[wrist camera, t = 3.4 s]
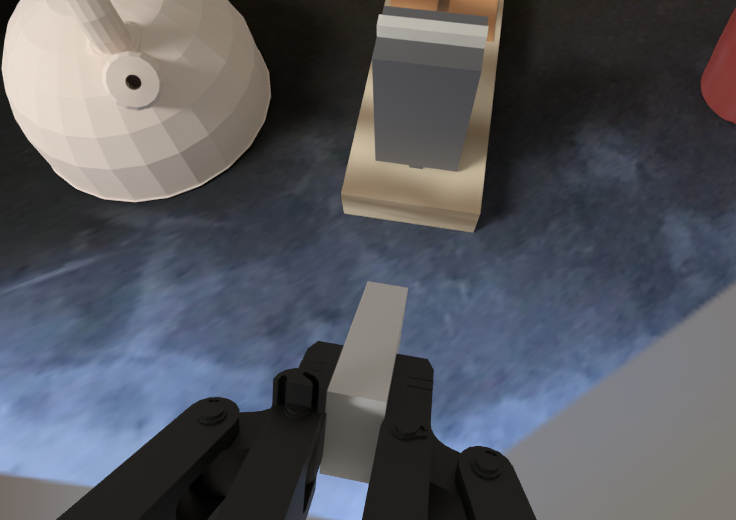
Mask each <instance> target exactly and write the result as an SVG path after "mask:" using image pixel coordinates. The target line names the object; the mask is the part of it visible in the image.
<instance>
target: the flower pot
mask: <svg viewBox="0 0 736 520" xmlns="http://www.w3.org/2000/svg"><path fill="white" fill-rule="evenodd" d="M701 92H702V95H703V97H704V99H705V101H706V103H707V104H708V105H709V107H710V108H711V109H712V110H713V111H714V112H715V113H716V114H717V115H718V116H720V117H721V118H723V119H724V120H727V121H730V122H733V123H734V124H735V125H736V7H735V9H734V11H733V13H732V15H731V17H730V19H729V21H728V23H727V25H726V27H725V29H724V31H723V33H722V35H721V37H720V39H719V41H718V43H717V45H716V47H715V49H714V51H713V53H712V56H711V58H710V60H709V62H708V64H707V66H706V68H705V70H704V72H703V75H702V78H701Z"/></svg>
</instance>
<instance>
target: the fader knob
mask: <svg viewBox="0 0 736 520" xmlns="http://www.w3.org/2000/svg"><path fill="white" fill-rule="evenodd" d="M487 24H488V17H487V16H477V15H468V14H458V13H449V12H440V11H430V10H421V9H411V8H402V7H392V6H384V8H383V13H382V15H380V14H379V17H378V22H377V39H376V43H375V47H374V52H373V56H372V75H373V104H374V133H375V161H382V162H389V163H397V164H404V165H411V166H419V167H426V168H433V169H441V170H448V171H455V172H457V170H458V166H459V162H460V158H461V154H462V150H463V146H464V142H465V138H466V133H467V129H468V125H469V121H470V117H471V113H472V109H473V105H474V101H475V96H476V92H477V88H478V84H479V80H480V76H481V72H482V64H483V56H484V48H485V44H486V40H487V34H488V26H487Z"/></svg>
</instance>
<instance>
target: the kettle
mask: <svg viewBox="0 0 736 520" xmlns="http://www.w3.org/2000/svg"><path fill="white" fill-rule="evenodd" d="M2 74H3V79H4V85H5V91H6V94H7V97H8V99H9V102H10V105H11V108H12V111H13V114H14V117H15V119H16V121H17V122H18V124H19V126H20V127H21V129H22V130H23V132H24V134H25V135H26V137H27V139H28V140H29V141H30V142H31V143H32V145H33V146H34V147H35V148H36V149H37V150H38V151H39V152H40V154H41V155H42V156H43V157H44V158H45V159H46V160H47V161H48V163H49V164H50V165H51V166H52V168H53V170H54V171H55V172H56V173H57V174H58V175H59V176H61V177H62V178H63V179H64V180H66V181H67V182H68V183H70V184H71V185H72V186H73V187H75V188H76V189H78V190H81V191H83V192H86V193H89V194H91V195H94V196H97V197H99V198H102V199H108V200H118V201H128V202H140V201H148V200H155V199H162V198H169V197H172V196H174V195H177V194H180V193H183V192H185V191H188V190H191V189H193V188H196V187H199V186H201V185H203V184H204V183H206V182H207V181H209V180H211V179H212V178H214V177H215V176H217V175H218V174H220V173H222V172H223V171H225V170H226V169H228V168H229V167H230V166H231V165H232V164H233V163H234V162H235V161H236V160H237V159H238V158H239V157H240V156H241V155H242V154H243V153H244V152H245V151H246V150H247V149H248V148H249V147H250V146H251V144H252V142H253V141H254V139H255V137H256V135H257V134H258V132H259V130H260V129H261V127H262V125H263V123H264V122H265V118H266V114H267V110H268V106H269V102H270V98H271V90H270V78H269V71H268V69H267V67H266V64H265V62H264V60H263V58H262V55H261V53H260V51H259V50H258V49H257V47H256V44H255V42H254V40H253V37H252V35H251V33H250V31H249V28H248V26H247V24H246V22H245V19H244V17H243V16H242V15H241V14H240V13H239V12H238V11H237V10H236V9H235V8H234V7H233V5H232V4H231V3H230V2H229V1H228V0H20V1H19V3H18V5H17V6H16V8H15V10H14V12H13V14H12V16H11V18H10V20H9V22H8V25H7V31H6V36H5V42H4V51H3V61H2Z"/></svg>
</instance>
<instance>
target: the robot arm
mask: <svg viewBox="0 0 736 520" xmlns="http://www.w3.org/2000/svg"><path fill="white" fill-rule="evenodd" d="M407 292H408V288H405V287H399V286H393V285H387V284H381V283H375V282H369V281H368V282H367V285H366V287H365V290H364V293H363V295H362V298H361V301H360V304H359V306H358V309H357V312H356V314H355V317H354V320H353V322H352V325H351V328H350V331H349V333H348V336H347V339H346V341H345V344H344V345H338V344H333V343H327V342H321V341H318V342H316V343H315V344H313V345H312V346H311V347H309V348H308V349H307V351H306V353H305V355H304V357H303V360H302V361H301V363H300V365H299V368H294V369H288V370H285V371H283V372H281V373H279V374H278V375H277V376H276V377H275V378H274V379H273V402H272V407H271V408H270V409H267V410H263V411H257V412H240V413H239V408H238V406H237V405H236V403H234V402H233V401H231V400H229V399H226V398H221V397H210V398H206V399H203V400H199V401H198V402H196V403H194V404H193V405H191V406H190V407H189V408H188V409H186V410H185V411H184V412H183V413H182V414H180V415H179V416H178V417H177V418H176V419H175V420H173V421H172V422H171V423H170V424H169V425H167V426H166V427H165V428H164V429H163V430H162V431H160V432H159V433H158V434H157V435H156V436H154V437H153V438H152V439H151V440H150V441H149V442H147V443H146V444H145V445H144V446H143V447H141V448H140V449H139V450H138V451H137V452H136V453H134V454H133V455H132V456H131V457H130V458H128V459H127V460H126V461H125V462H124V463H123V464H121V465H120V466H119V467H118V468H117V469H115V470H114V471H113V472H112V473H111V474H109V475H108V476H107V477H106V478H105V479H104V480H102V481H101V482H100V483H99V484H98V485H96V486H95V487H94V488H93V489H92V490H91V491H89V492H88V493H87V494H86V495H85V496H84V497H82V498H81V499H80V500H79V501H78V502H77V503H75V504H74V505H73V506H72V507H70V508H69V509H68V510H67V511H66V512H65V513H63V514H62V515H61V516H60V517H59V518H58V519H56V520H306V518H307V515H308V511H309V508H310V505H311V502H312V498H313V495H314V492H315V487H316V475H317V472H318V469H319V466H320V473H321V474H326V475H330V476H335V477H340V478H345V479H350V480H355V481H360V482H365V483H369V487H368V492H367V497H366V502H365V507H364V512H363V517H362V520H537V519H536V517H535V515H534V513H533V511H532V508H531V506H530V504H529V501H528V499H527V497H526V495H525V492H524V490H523V488H522V486H521V483H520V481H519V479H518V477H517V475H516V472H515V470H514V468H513V466H512V465H511V463H510V462H509V460H508V459H507V458H506V457H505V456H503V455H502V454H501V453H500V452H498V451H495V450H493V449H491V448H488V447H482V446H474V447H469V448H467V449H465V450H464V451H462V453H459V452H457V451H455V450H453V449H451V448H449V447H447V446H445V445H444V444H443V443H441V442H440V441H439V440H438V439H437V438H436V436H435V435H434V434H433V431H432V429H431V408H432V390H433V374H434V370H433V368H432V366H431V364H430V362H429V361H428V359H424V358H418V357H412V356H407V355H401V354H398V351H399V344H400V338H401V331H402V325H403V318H404V312H405V305H406V298H407Z"/></svg>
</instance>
